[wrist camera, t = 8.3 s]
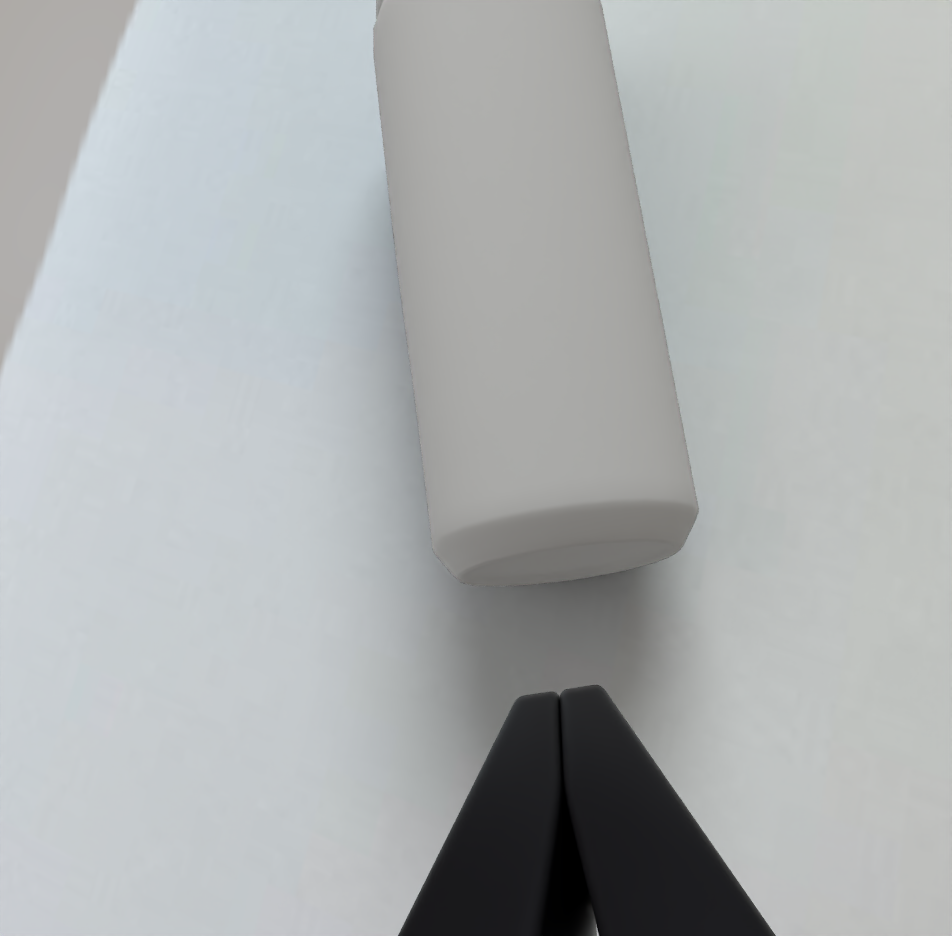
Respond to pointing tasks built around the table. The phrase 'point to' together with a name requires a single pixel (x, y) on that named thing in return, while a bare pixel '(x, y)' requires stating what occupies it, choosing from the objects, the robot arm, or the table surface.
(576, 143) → the beverage can
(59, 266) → the table surface
